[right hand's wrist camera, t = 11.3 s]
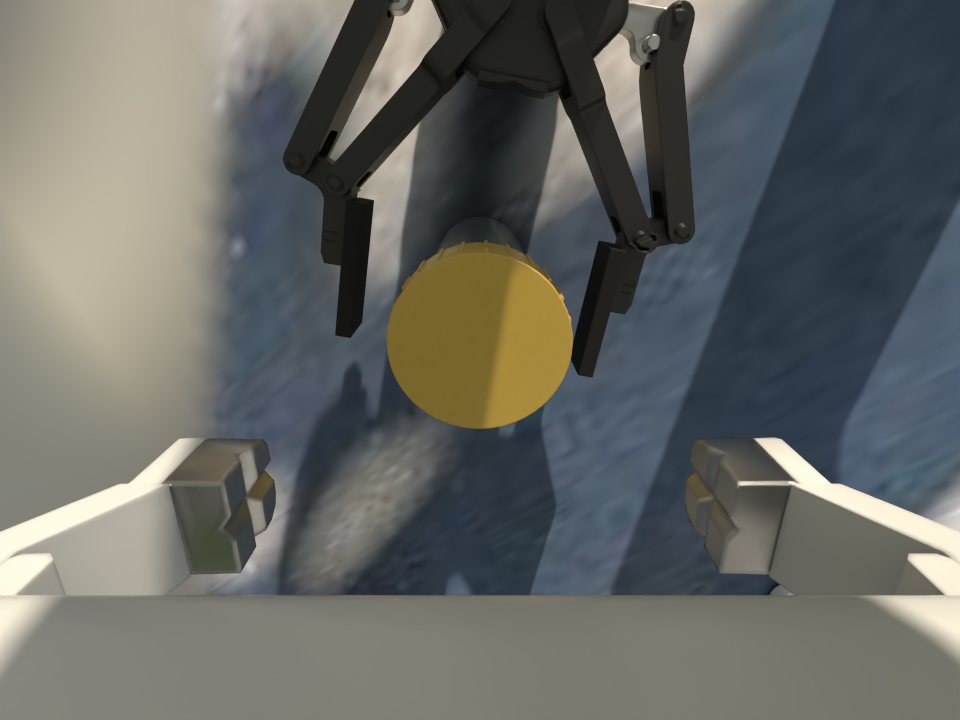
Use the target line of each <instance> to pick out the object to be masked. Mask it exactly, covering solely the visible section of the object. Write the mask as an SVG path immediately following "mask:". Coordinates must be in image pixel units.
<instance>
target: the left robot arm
mask: <svg viewBox="0 0 960 720" xmlns="http://www.w3.org/2000/svg"><path fill="white" fill-rule="evenodd" d="M413 1H414V0H354V3H353V5H352V7H351V9H350V11H349V13H348V16H347V18H346V20H345V22H344V24H343V26H342V29H341V31H340V33H339V35H338V37H337V40H336V42H335V44H334V46H333V48H332V50H331V53H330V55H329V57H328V59H327V61H326V63H325V66H324V68H323V70H322V72H321V74H320V76H319V79H318V81H317V83H316V85H315V87H314V90H313V92H312V94H311V96H310V98H309V100H308V103H307V105H306V107H305V109H304V111H303V113H302V116H301V118H300V120H299V122H298V124H297V127H296V129H295V131H294V133H293V135H292V137H291V140H290V142H289V144H288V146H287V148H286V150H285V153H284V156H283V161H284V165H285V167H286V169H287V170H288V171H289V172H290V173H292V174H295V175H299V176H301V177H303V178H305V179H306V180H308V181H310V182H312V183H313V184H315V185H316V186H318V188H319V189H320V190H321V192H322V194H323V197H324V211H323V226H322V241H321V254H322V257H323V260H324V263H328V264H334V265H340V266H341V271H340V284H339V296H338V309H337V321H336V333H335V335H337V336H343V337H349V338H351V336H352V335H353V334H354V332H355V331H356V330H357V328H358V327H359V326H360V324H361V323H362V316H363V306H364V296H365V286H366V276H367V266H368V256H369V246H370V235H371V225H372V215H373V205H374V200H370V199H365V198H357V193H358V192H359V191H360V188H361V186H362V185H363V184H364V183H365V182H366V181H367V180H368V179H369V178H370V176H371V175H372V174H373V173H374V172H375V171H376V170H377V169H378V168H379V166H380V165H381V164H382V163H383V162H384V161H385V160H386V159H387V158H388V156H389V155H390V154H391V153H392V152H393V151H394V150H395V149H396V148H397V147H398V145H399V144H400V143H401V142H402V141H403V140H404V139H405V138H406V137H407V135H408V134H409V133H410V132H411V131H412V130H413V129H414V128H415V127H416V125H417V124H418V123H419V122H420V121H421V120H422V119H423V118H424V117H425V115H426V114H427V113H428V112H429V111H430V110H431V109H432V108H433V107H434V105H435V104H436V103H437V102H438V101H439V100H440V99H441V98H442V97H443V96H444V95H445V94H446V93H447V92H448V91H450V90H451V89H452V88H453V86H454V85H455V84H456V83H457V82H458V81H459V80H460V79H461V78H462V76H463V75H464V74H466V75H467V76H468V77H469V78H470V79H471V80H473V81H474V82H476V83H478V86H480V87H486V88H491V89H500V88H514V89H515V90H517V91H519V92H521V93H523V94H525V95H527V96H532V97H537V98H542V99H543V98H544V97H546V96H551V95H554V94H557V93H558V94H559V96H560V99H561V101H562V104H563V107H564V109H565V111H566V113H567V115H568V117H569V118H570V120H571V122H572V125H573V127H574V130H575V132H576V135H577V137H578V140H579V143H580V145H581V148H582V150H583V153H584V155H585V158H586V161H587V163H588V166H589V168H590V171H591V173H592V176H593V179H594V181H595V184H596V186H597V189H598V191H599V194H600V197H601V199H602V202H603V204H604V207H605V209H606V212H607V215H608V217H609V220H610V222H611V225H612V227H613V230H614V233H615V235H616V238H617V239H616V243H615V244H613V243H609V242H603V241H599V242H598V246H597V250H596V254H595V258H594V262H593V266H592V270H591V274H590V278H589V282H588V286H587V290H586V294H585V297H584V301H583V305H582V309H581V313H580V317H579V321H578V325H577V329H576V333H575V337H574V341H573V346H572V354H571V361H572V363H573V365H574V367H575V369H576V372H577V374H578V375H581V376H587V377H593V373H594V370H595V366H596V362H597V358H598V355H599V351H600V347H601V344H602V340H603V336H604V333H605V329H606V325H607V322H608V318H609V314H610V312H614V313H620V314H625V313H626V312H627V310H628V309H629V308H630V306H631V304H632V301H633V297H634V293H635V290H636V286H637V283H638V280H639V276H640V273H641V269H642V266H643V262H644V259H645V257H646V255H647V253H650V252H652V251H653V250H655V248H656V247H658V246H662V245H668V244H673V243H677V244H684V243H686V242H688V241H689V240H690V239H692V237H693V235H694V231H695V224H694V209H693V195H692V181H691V167H690V153H689V139H688V125H687V111H686V97H685V82H684V68H683V64H684V60H685V56H686V52H687V48H688V44H689V39H690V35H691V31H692V27H693V23H694V17H695V12H694V8H693V6H692V5H691V4H690V3H689V2H688V1H685V0H678V1H676V2H674V3H673V4H671V5H670V6H669V7H667V8H664V7H658V6H652V5H646V4H640V3H634V2H629V0H432V2H433V5H434V7H435V9H436V11H437V14H438V16H439V18H440V21H441V23H442V25H443V27H444V30H445V33H444V34H443V35H442V36H441V38H440V39H439V40H438V41H437V42H436V43H435V44H434V46H433V47H432V48H431V49H430V50H429V51H428V53H427V54H426V55H425V57H424V58H423V60H422V62H421V64H420V65H419V66H418V68H417V69H416V70H415V71H414V72H413V73H412V75H411V76H410V77H409V78H408V79H407V80H406V81H405V83H404V84H403V85H402V86H401V87H400V88H399V90H398V91H397V92H396V93H395V94H394V95H393V96H392V98H391V99H390V100H389V101H388V102H387V103H386V104H385V106H384V107H383V108H382V109H381V110H380V111H379V112H378V114H377V115H376V116H375V117H374V118H373V119H372V121H371V122H370V123H369V124H368V125H367V126H366V127H365V129H364V130H363V131H362V132H361V133H360V134H359V135H358V137H357V138H356V139H355V140H354V141H353V142H352V143H351V145H350V146H349V147H348V148H347V149H346V150H345V152H344V153H343V154H342V155H341V156H340V157H339V158H338V160H337V161H334V160H332V159H330V158H329V157H330V155H331V153H332V151H333V149H334V146H335V144H336V142H337V140H338V138H339V136H340V134H341V132H342V130H343V128H344V126H345V124H346V122H347V120H348V118H349V116H350V114H351V112H352V110H353V108H354V106H355V104H356V102H357V99H358V97H359V95H360V93H361V91H362V89H363V87H364V85H365V83H366V81H367V79H368V77H369V75H370V73H371V71H372V69H373V67H374V65H375V63H376V61H377V59H378V57H379V55H380V52H381V50H382V48H383V46H384V44H385V42H386V40H387V38H388V35H389V33H390V30H391V27H392V23H393V20H394V15H395V16H403V15H405V14H406V13H408V11H409V10H410V8H411V6H412V3H413ZM617 34H621V35H623V36H625V37H626V39H627V40H628V42H629V45H630V57H631V59H632V61H633V62H634V63H636V64H637V65H641V66H640V76H639V89H640V101H641V111H642V121H643V131H644V142H645V152H646V162H647V172H648V182H649V192H650V203H651V213H652V217H651V218H648V217H647V214H646V212H645V209H644V206H643V203H642V201H641V198H640V195H639V192H638V190H637V187H636V184H635V181H634V179H633V176H632V173H631V170H630V168H629V165H628V162H627V159H626V157H625V154H624V151H623V148H622V146H621V143H620V140H619V137H618V135H617V132H616V129H615V126H614V124H613V121H612V118H611V115H610V113H609V110H608V107H607V104H606V100H605V91H604V87H603V85H602V82H601V79H600V76H599V73H598V71H597V68H596V65H595V62H594V60H593V59H594V58H595V57H596V56H597V55H598V54H599V53H600V52H601V51H602V50H603V49H604V48H605V47H606V46H607V45H608V44H609V43H610V41H611V40H612V39H613V38H614V37H615V36H616V35H617Z"/></svg>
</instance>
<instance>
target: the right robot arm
mask: <svg viewBox="0 0 960 720" xmlns="http://www.w3.org/2000/svg"><path fill="white" fill-rule="evenodd" d="M270 461H271V459H270V454H269V449H268V444H267V443H266V442H265V441H264V440H263V439H227V438H211V439H210V438H184V439H178V440H177V441H176V442H175V443H174V444H173V445H172V446H171V447H169V448H168V449H167V450H166V451H165V452H164V453H163V454H162V455H160V456H159V457H158V458H157V459H156V460H155V461H154V462H153V463H152V464H150V465H149V466H148V467H147V468H146V469H145V470H144V471H143V472H141V473H140V474H139V475H138V476H137V477H136V478H135V479H134V480H133V481H131V482H130V483H129V484H118V485H116V486H113V487H111V488H108V489H106V490H103V491H101V492H98V493H96V494H93V495H91V496H88V497H86V498H83V499H81V500H78V501H76V502H73V503H71V504H68V505H66V506H63V507H61V508H58V509H56V510H53V511H51V512H48V513H46V514H43V515H41V516H39V517H36V518H33V519H31V520H28V521H26V522H23V523H21V524H18V525H16V526H13V527H11V528H8V529H6V530H4V531H1V532H0V720H960V532H959V531H956V530H954V529H951V528H949V527H946V526H944V525H941V524H939V523H936V522H934V521H931V520H929V519H926V518H924V517H921V516H919V515H916V514H914V513H911V512H909V511H906V510H904V509H901V508H899V507H896V506H894V505H892V504H889V503H887V502H884V501H882V500H879V499H877V498H874V497H872V496H869V495H867V494H864V493H862V492H859V491H857V490H854V489H852V488H849V487H847V486H844V485H842V484H831V483H830V482H829V481H828V480H826V479H825V478H824V477H823V476H822V475H821V474H820V473H819V472H818V471H816V470H815V469H814V468H813V467H812V466H811V465H810V464H809V463H807V462H806V461H805V460H804V459H803V458H802V457H801V456H800V455H799V454H797V453H796V452H795V451H794V450H793V449H792V448H791V447H790V446H789V445H787V444H786V443H785V442H784V441H783V440H782V439H778V438H736V439H700V440H695V441H694V444H693V446H692V448H691V453H690V458H689V461H690V462H691V464H692V465H693V467H694V468H695V471H694V473H693V474H692V475H691V476H690V477H689V478H688V479H687V480H686V484H685V492H684V501H685V510H686V513H687V517H688V520H689V522H690V524H691V525H692V527H693V529H694V530H695V531H697V532H698V533H700V534H702V535H703V536H705V542H704V548H705V549H706V551H707V553H708V554H709V556H710V558H711V559H712V561H713V563H714V564H715V566H716V568H717V569H718V571H719V573H735V574H770V575H769V577H770V578H772V579H773V580H774V581H776V582H777V583H778V584H780V585H779V586H777V587H776V588H774V589H773V590H772V592H771V593H770V595H167V594H168V593H170V592H171V591H172V590H174V589H175V588H176V587H178V586H179V585H180V584H182V583H183V582H184V581H186V580H187V579H189V578H190V577H191V575H190V574H223V573H241V571H242V570H243V568H244V566H245V564H246V563H247V561H248V559H249V558H250V556H251V554H252V553H253V551H254V549H255V548H256V542H255V536H257V535H258V534H260V533H262V532H263V531H265V530H266V529H267V527H268V525H269V523H270V522H271V520H272V517H273V513H274V509H275V504H276V490H275V483H274V480H273V479H272V478H271V477H270V476H269V475H268V474H267V473H266V471H265V468H266V467H267V465H268V464H269V462H270Z"/></svg>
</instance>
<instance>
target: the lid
mask: <svg viewBox="0 0 960 720" xmlns="http://www.w3.org/2000/svg"><path fill="white" fill-rule="evenodd" d="M551 280H552V279H551V278H550V276H549V275H548V273H547V271H546V270H545V269H544V268H543V269H541V268H540V267H539V266H538V265H537V264H536V263H535V262H534V261H532V259H531V258H530V256H529V255H528V254H526V256H525V255H524V254H522V253H520V252H518V251H516V250H514V249H512V248H510V246H509V245H506V246H503V245H499V244H494V243H488V241H487V240H484V242H475V243H466V244H465V241H464V242H462V243H461V245H456V246H453V247H451V248H448V249H445V250H444V249H443V248H442V249H440V252H439V253H437V254H435V255H434V256H433V257H431V258H430V259H428V260H427V261H425V260H423V261H422V263H421V264H420V266H419V268H418V269H417V271H416V272H415V273H414V274H413V275H412V277H411V276H409V277H408V278H407V280H406V281H405V283H404V285H403V286H402V288H401V289H402V290H403V291H402V293H401V295H400V294H399V296H398V297H397V299H396V301H395V302H394V304H393V305H392V307H391V310H392V312H391V316H390V319H389V323H388V327H387V351H388V358H389V362H390V365H391V369H392V371H393V373H394V376H395V378H396V380H397V382H398V383H399V385H400V387H401V388H402V390H403V391H404V392H405V394H406V395H407V396H408V397H409V398H410V399H411V400H412V401H413V402H414V403H415V404H416V405H417V406H418V407H419V408H421V409H422V410H423V411H425V412H426V413H427V414H429V415H431V416H433V417H434V418H436V419H438V420H441V421H443V422H445V423H448V424H451V425H455V426H458V427H464V428H473V429H486V428H495V427H501V426H505V425H508V424H511V423H514V422H517V421H519V420H521V419H523V418H525V417H527V416H529V415H530V414H532V413H534V412H535V411H536V410H538V409H539V408H540V407H541V406H543V405H544V404H545V403H546V402H547V401H548V400H549V399H550V398H551V397H552V395H553V394H554V393H555V391H556V390H557V389H558V387H559V386H560V384H561V382H562V381H563V379H564V377H565V374H566V372H567V370H568V367H569V363H570V359H571V354H572V346H573V335H572V327H571V318H570V316H569V314H568V311H567V309H566V307H565V305H564V303H563V300H565V299H564V297H563V296H562V294H561V292H560V291H559V289H558V288H557V286H554V285H553V284H552V282H551Z"/></svg>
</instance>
